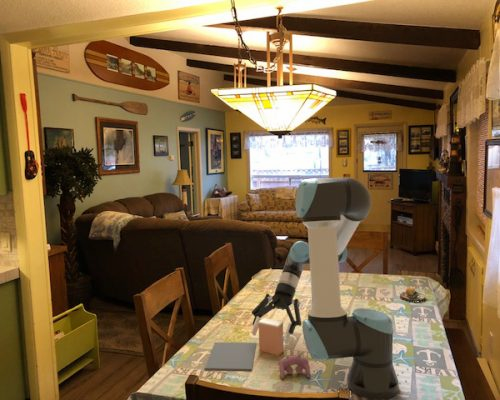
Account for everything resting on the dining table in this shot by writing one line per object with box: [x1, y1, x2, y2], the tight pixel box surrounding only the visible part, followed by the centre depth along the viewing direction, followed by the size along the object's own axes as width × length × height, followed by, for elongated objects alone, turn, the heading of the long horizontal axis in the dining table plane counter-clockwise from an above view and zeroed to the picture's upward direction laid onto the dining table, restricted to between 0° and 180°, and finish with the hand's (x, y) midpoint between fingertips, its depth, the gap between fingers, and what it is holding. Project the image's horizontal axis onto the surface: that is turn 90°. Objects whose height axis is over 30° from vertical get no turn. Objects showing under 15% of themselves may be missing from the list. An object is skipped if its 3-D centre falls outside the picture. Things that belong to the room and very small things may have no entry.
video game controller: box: [278, 354, 311, 380], centre depth 137 cm, size 10×5×7 cm, turn 93°
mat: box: [204, 341, 257, 372], centre depth 151 cm, size 20×16×1 cm
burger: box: [399, 285, 427, 303], centre depth 206 cm, size 12×12×8 cm
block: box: [258, 317, 285, 356], centre depth 154 cm, size 4×8×11 cm, turn 58°
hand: (268, 337), depth 153 cm, fingers open, 13 cm apart
